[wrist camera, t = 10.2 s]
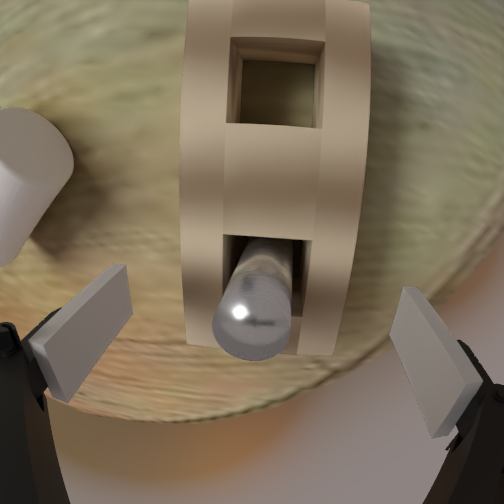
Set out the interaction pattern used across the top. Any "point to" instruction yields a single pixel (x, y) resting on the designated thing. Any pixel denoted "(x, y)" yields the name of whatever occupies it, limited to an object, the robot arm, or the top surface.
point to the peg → (257, 301)
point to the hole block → (273, 157)
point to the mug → (28, 175)
